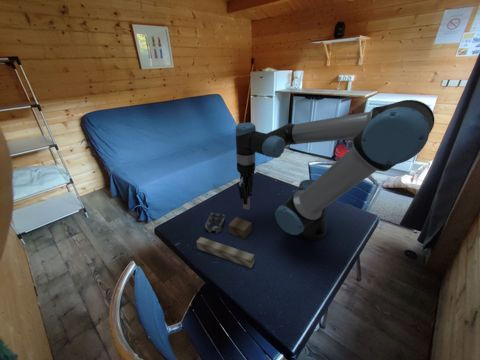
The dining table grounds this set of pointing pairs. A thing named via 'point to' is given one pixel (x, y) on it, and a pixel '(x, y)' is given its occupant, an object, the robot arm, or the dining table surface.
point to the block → (240, 228)
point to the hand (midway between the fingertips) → (246, 208)
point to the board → (225, 252)
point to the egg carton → (216, 221)
